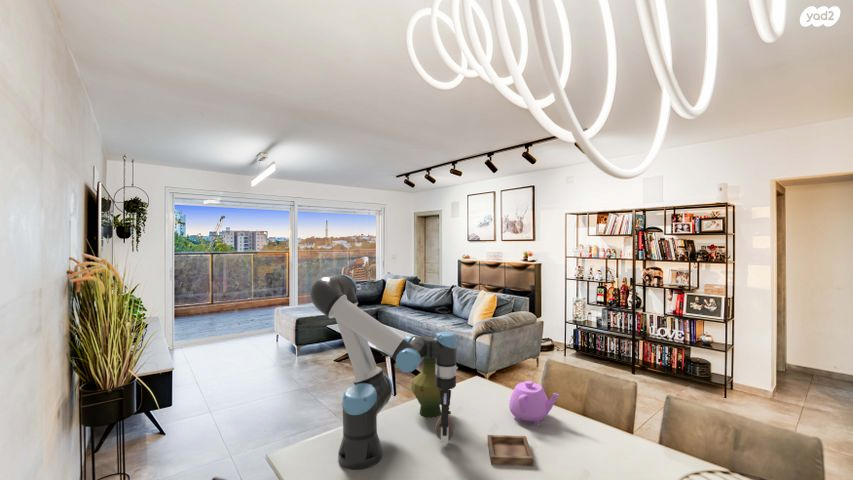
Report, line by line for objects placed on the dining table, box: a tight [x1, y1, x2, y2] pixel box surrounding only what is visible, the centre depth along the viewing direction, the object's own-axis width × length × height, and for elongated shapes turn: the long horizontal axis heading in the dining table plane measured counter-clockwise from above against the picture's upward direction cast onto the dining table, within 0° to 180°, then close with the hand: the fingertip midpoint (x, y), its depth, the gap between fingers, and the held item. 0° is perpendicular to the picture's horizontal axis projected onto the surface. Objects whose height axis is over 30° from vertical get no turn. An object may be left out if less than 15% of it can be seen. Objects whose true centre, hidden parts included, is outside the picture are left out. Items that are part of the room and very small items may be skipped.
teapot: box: [508, 380, 560, 426], centre depth 156 cm, size 20×20×15 cm
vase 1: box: [410, 358, 441, 419], centre depth 164 cm, size 16×16×30 cm
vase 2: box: [434, 415, 455, 441], centre depth 138 cm, size 7×7×9 cm
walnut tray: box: [487, 434, 535, 467], centre depth 132 cm, size 14×14×3 cm
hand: (444, 437), depth 138 cm, fingers closed on vase 2, 7 cm apart
